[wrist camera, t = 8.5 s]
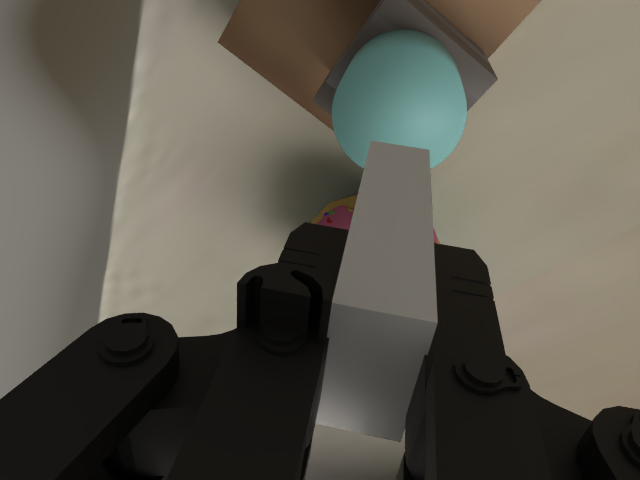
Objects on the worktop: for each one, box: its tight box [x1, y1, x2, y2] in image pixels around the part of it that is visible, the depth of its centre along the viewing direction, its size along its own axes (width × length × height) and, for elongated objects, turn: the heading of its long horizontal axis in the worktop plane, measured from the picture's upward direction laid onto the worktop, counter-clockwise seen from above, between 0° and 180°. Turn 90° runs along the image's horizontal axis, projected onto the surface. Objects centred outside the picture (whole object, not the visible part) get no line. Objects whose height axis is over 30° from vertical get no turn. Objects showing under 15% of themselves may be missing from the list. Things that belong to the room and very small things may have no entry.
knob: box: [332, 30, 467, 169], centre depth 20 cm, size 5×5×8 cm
